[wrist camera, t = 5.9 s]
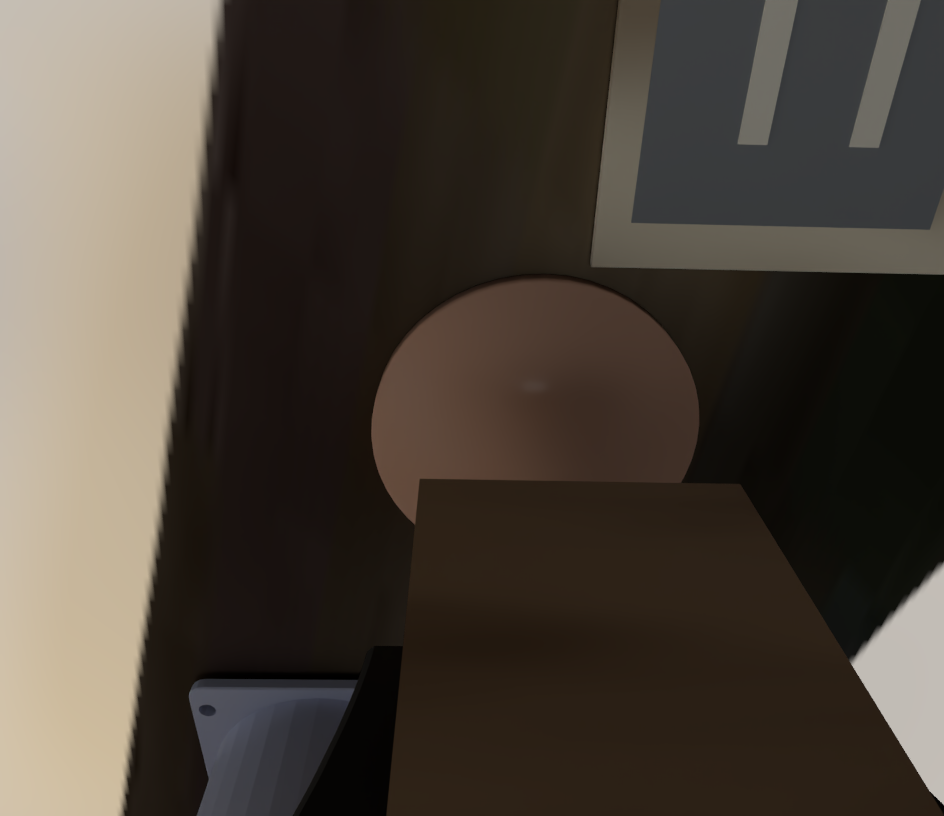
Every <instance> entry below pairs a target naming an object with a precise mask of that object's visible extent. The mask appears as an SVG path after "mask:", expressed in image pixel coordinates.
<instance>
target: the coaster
mask: <svg viewBox="0 0 944 816" xmlns="http://www.w3.org/2000/svg"><path fill="white" fill-rule="evenodd" d="M698 430H699V403H698V397H697V392H696V386H695V383H694V381H693V378H692V375H691V372H690V369H689V367H688V365H687V363H686V361H685V359H684V358H683V356H682V354H681V352H680V350H679V349H678V347H677V346H676V344H675V343H674V341H673V340H672V338H671V337H670V336H669V334H668V333H667V332H666V331H665V329H664V328H663V327H662V325H661V324H660V323H659V322H658V321H657V320H656V319H655V318H654V317H653V316H652V315H651V314H650V313H649V312H648V311H646V310H645V309H644V308H642V307H641V306H639V305H638V304H637V303H635V302H634V301H633V300H631V299H630V298H628V297H626V296H624V295H622V294H620V293H618V292H617V291H615V290H613V289H611V288H608V287H605V286H603V285H600V284H597V283H594V282H592V281H588V280H584V279H579V278H574V277H570V276H562V275H550V274H534V275H519V276H513V277H507V278H501V279H497V280H493V281H490V282H487V283H483V284H480V285H477V286H474V287H472V288H470V289H468V290H466V291H463V292H461V293H459V294H457V295H455V296H453V297H451V298H450V299H448V300H446V301H445V302H443V303H442V304H440V305H438V306H437V307H435V308H434V309H433V310H432V311H430V312H429V313H428V314H427V315H426V316H424V317H423V318H422V319H421V320H419V321H418V323H417V324H416V325H415V326H414V327H413V328H412V329H411V330H410V331H409V332H408V333H407V334H406V335H405V336H404V338H403V339H402V341H401V342H400V344H399V345H398V346H397V348H396V349H395V351H394V352H393V354H392V356H391V358H390V360H389V362H388V363H387V365H386V367H385V369H384V372H383V375H382V378H381V381H380V384H379V387H378V390H377V394H376V399H375V404H374V410H373V415H372V434H371V438H372V446H373V454H374V458H375V461H376V465H377V468H378V472H379V474H380V477H381V479H382V481H383V483H384V485H385V488H386V490H387V491H388V493H389V494H390V496H391V497H392V499H393V501H394V502H395V504H396V505H397V506H398V507H399V508H400V510H401V511H402V512H403V513H404V514H405V516H406V517H407V518H408V519H409V520H410V521H412V522H413V523H414V524H415V520H416V510H417V500H418V490H419V480H420V479H470V480H530V481H591V482H651V483H681V481H682V480H683V478H684V476H685V474H686V472H687V470H688V467H689V465H690V463H691V461H692V457H693V454H694V450H695V447H696V443H697V437H698Z"/></svg>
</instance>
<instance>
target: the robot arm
mask: <svg viewBox="0 0 944 816" xmlns="http://www.w3.org/2000/svg"><path fill="white" fill-rule="evenodd" d="M402 652H403V646H374V647H373V648H371V649H370V650H369V651H367V654H366V657H365V661H364V664H363V667H362V670H361V673H360V676H359V678H358V680H301V679H201V680H198V681H196V682H195V683H194V684H193V686H192V688H191V691H190V693H189V700H190V704H191V708H192V712H193V717H194V721H195V725H196V729H197V733H198V737H199V741H200V745H201V749H202V753H203V757H204V761H205V765H206V770H207V774H208V778H209V781H208V784H207V787H206V790H205V793H204V796H203V799H202V802H201V805H200V808H199V811H198V814H197V816H386V814H387V804H388V794H389V783H390V773H391V763H392V753H393V743H394V733H395V723H396V713H397V703H398V692H399V682H400V672H401V662H402ZM930 793H931V792H930ZM931 795H932V796H933V798H934V800H935V801H936V803H937V804H938V806H939V808H940V809H941V811H942V813H943V814H944V805H943V804H942V803H941V802H940V801H939V800H938V799H937V798H936V797H935V796H934V795H933V794H932V793H931Z"/></svg>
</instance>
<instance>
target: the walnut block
mask: <svg viewBox="0 0 944 816" xmlns="http://www.w3.org/2000/svg"><path fill="white" fill-rule="evenodd" d="M386 816H944V814H943V813H942V811H941V809H940V808H939V806H938V804H937V803H936V801H935V800H934V798H933V796H932V795H931V793H930V791H929V790H928V788H927V787H926V785H925V783H924V782H923V780H922V779H921V777H920V775H919V774H918V772H917V770H916V769H915V767H914V765H913V764H912V762H911V761H910V759H909V757H908V756H907V754H906V753H905V751H904V749H903V748H902V746H901V745H900V743H899V741H898V740H897V738H896V736H895V735H894V733H893V731H892V730H891V728H890V727H889V725H888V723H887V722H886V720H885V719H884V717H883V715H882V714H881V712H880V710H879V709H878V707H877V705H876V704H875V702H874V701H873V699H872V698H871V696H870V694H869V692H868V691H867V689H866V688H865V686H864V684H863V683H862V681H861V679H860V678H859V676H858V675H857V673H856V671H855V670H854V668H853V666H852V665H851V663H850V662H849V660H848V658H847V657H846V655H845V653H844V652H843V650H842V649H841V647H840V645H839V644H838V642H837V641H836V639H835V637H834V636H833V634H832V632H831V631H830V629H829V628H828V626H827V624H826V623H825V621H824V619H823V618H822V616H821V615H820V613H819V611H818V610H817V608H816V606H815V605H814V603H813V602H812V600H811V598H810V597H809V595H808V593H807V592H806V590H805V589H804V587H803V585H802V584H801V582H800V580H799V579H798V577H797V576H796V574H795V572H794V571H793V569H792V567H791V566H790V564H789V563H788V561H787V559H786V558H785V556H784V554H783V553H782V551H781V550H780V548H779V546H778V545H777V543H776V541H775V540H774V538H773V537H772V535H771V533H770V532H769V530H768V529H767V527H766V525H765V524H764V522H763V520H762V519H761V517H760V516H759V514H758V512H757V511H756V509H755V507H754V506H753V504H752V503H751V501H750V499H749V498H748V496H747V494H746V493H745V491H744V490H743V488H742V486H741V485H740V484H712V483H651V482H591V481H530V480H470V479H420V480H419V490H418V500H417V510H416V520H415V530H414V541H413V551H412V561H411V571H410V581H409V591H408V601H407V611H406V622H405V632H404V642H403V652H402V662H401V672H400V682H399V692H398V703H397V713H396V723H395V733H394V743H393V753H392V763H391V773H390V783H389V794H388V804H387V814H386Z"/></svg>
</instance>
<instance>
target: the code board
mask: <svg viewBox="0 0 944 816" xmlns="http://www.w3.org/2000/svg"><path fill="white" fill-rule="evenodd" d="M590 265H591V267H618V268H665V269H712V270H758V271H805V272H852V273H899V274H944V0H619V2H618V11H617V20H616V29H615V39H614V48H613V57H612V66H611V75H610V85H609V94H608V103H607V112H606V122H605V131H604V140H603V149H602V158H601V168H600V177H599V186H598V195H597V204H596V214H595V223H594V232H593V241H592V251H591V260H590Z"/></svg>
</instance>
